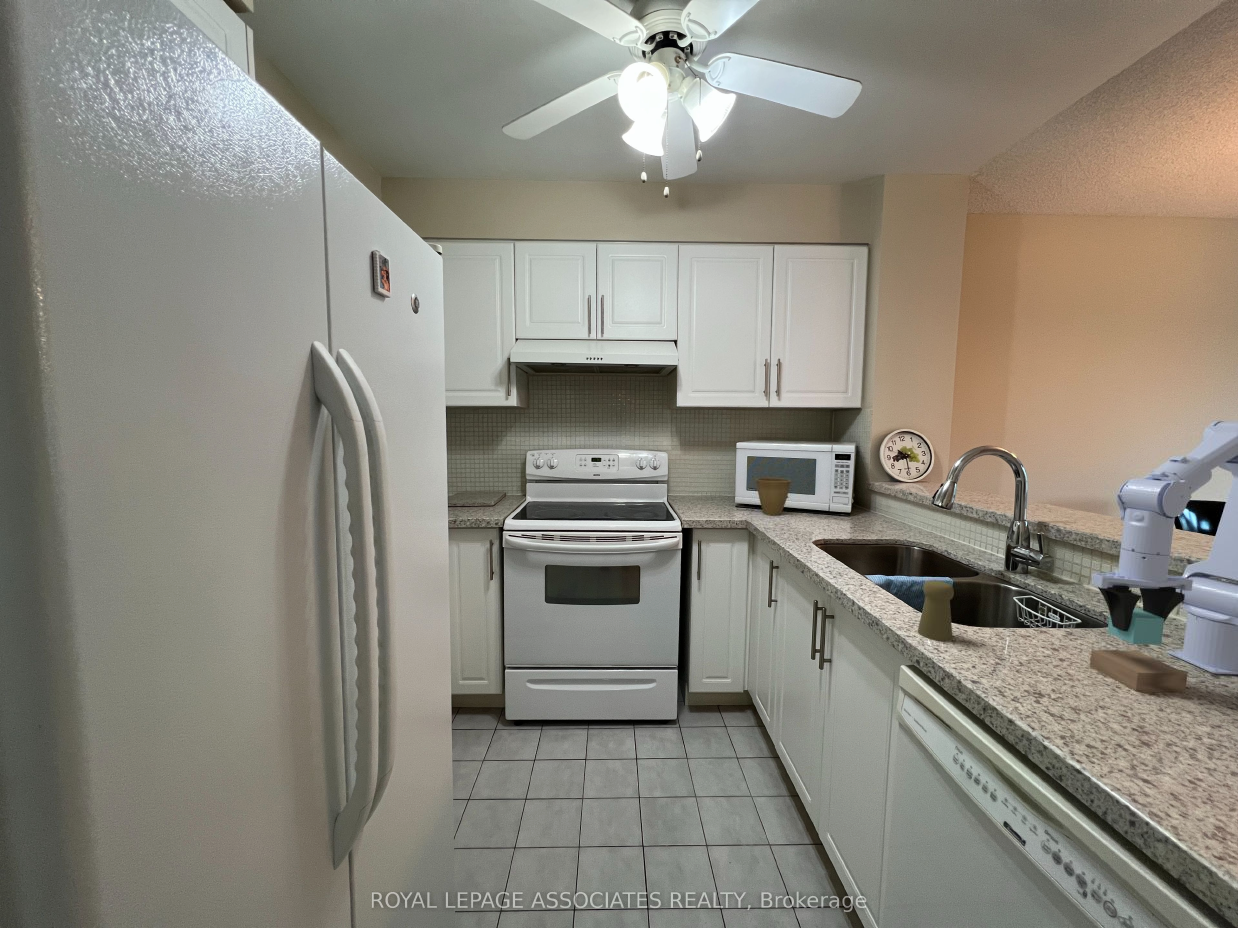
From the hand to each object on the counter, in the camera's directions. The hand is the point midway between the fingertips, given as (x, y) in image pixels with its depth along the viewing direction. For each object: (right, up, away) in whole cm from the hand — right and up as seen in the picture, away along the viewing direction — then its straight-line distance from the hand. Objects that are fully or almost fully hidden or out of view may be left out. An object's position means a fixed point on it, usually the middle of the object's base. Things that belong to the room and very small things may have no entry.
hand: (1135, 629), depth 85 cm
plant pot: (-18, +5, +144) cm, 145 cm away
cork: (-24, -7, +17) cm, 30 cm away
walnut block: (0, -9, 0) cm, 9 cm away
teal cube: (0, -2, 0) cm, 2 cm away
